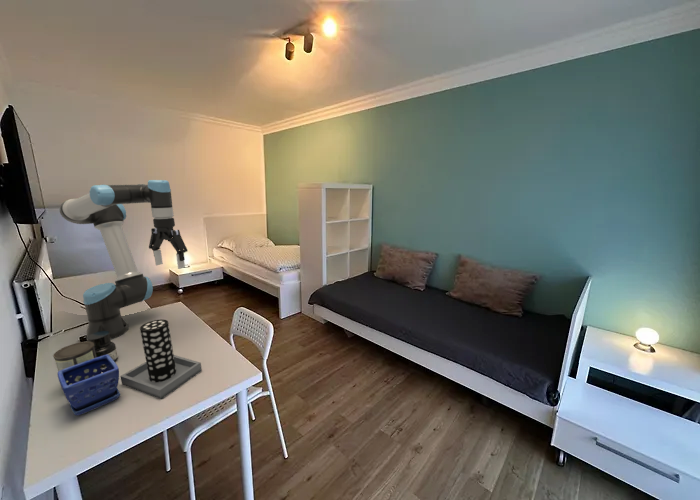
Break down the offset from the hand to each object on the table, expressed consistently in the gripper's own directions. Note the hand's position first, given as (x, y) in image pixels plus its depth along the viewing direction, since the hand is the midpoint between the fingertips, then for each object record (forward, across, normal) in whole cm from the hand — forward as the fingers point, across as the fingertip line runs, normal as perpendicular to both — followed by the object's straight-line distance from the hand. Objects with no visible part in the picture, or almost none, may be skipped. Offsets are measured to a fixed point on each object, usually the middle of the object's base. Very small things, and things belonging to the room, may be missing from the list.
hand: (170, 266), depth 126 cm
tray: (+34, -20, +23) cm, 46 cm away
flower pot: (+34, -10, +39) cm, 53 cm away
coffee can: (+34, +3, +36) cm, 50 cm away
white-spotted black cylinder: (+33, -20, +23) cm, 45 cm away
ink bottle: (+35, +11, +25) cm, 44 cm away
